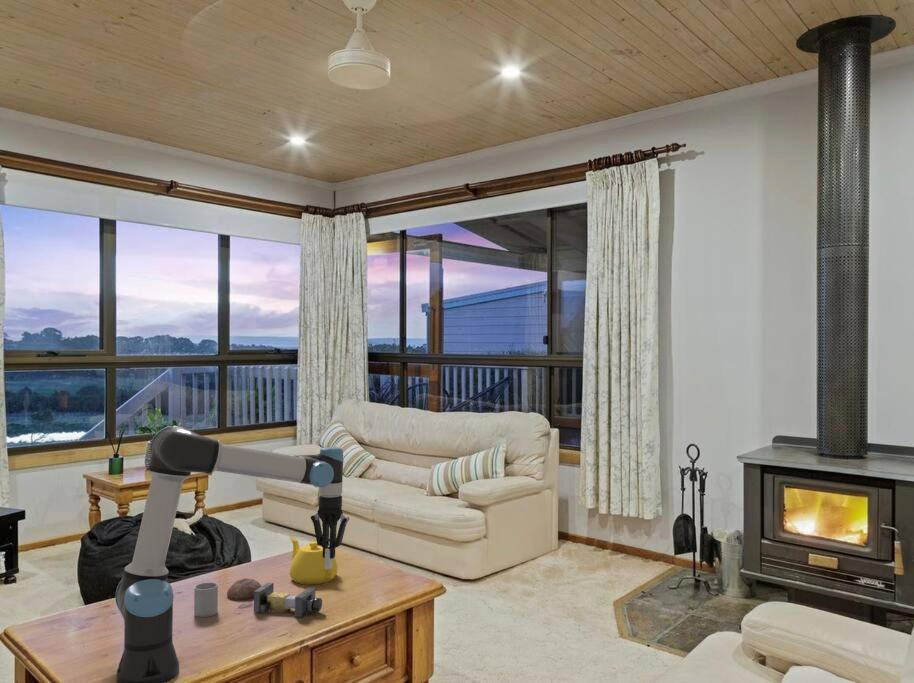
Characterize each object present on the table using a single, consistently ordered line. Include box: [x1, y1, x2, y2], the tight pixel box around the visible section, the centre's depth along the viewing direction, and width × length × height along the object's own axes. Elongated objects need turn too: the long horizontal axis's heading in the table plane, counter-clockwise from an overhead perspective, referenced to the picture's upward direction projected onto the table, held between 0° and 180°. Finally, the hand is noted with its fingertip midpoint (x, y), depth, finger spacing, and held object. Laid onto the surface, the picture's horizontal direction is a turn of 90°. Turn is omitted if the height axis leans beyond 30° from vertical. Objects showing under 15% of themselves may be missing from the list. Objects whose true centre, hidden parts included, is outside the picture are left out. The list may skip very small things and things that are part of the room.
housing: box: [253, 582, 316, 619], centre depth 228 cm, size 18×9×7 cm, turn 75°
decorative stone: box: [226, 578, 263, 601], centre depth 243 cm, size 12×12×6 cm
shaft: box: [284, 594, 323, 612], centre depth 226 cm, size 12×4×4 cm, turn 75°
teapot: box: [289, 537, 339, 586], centre depth 262 cm, size 25×18×14 cm
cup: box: [193, 581, 219, 618], centre depth 226 cm, size 7×10×9 cm
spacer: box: [267, 591, 291, 613], centre depth 229 cm, size 4×6×5 cm, turn 75°
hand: (328, 568), depth 224 cm, fingers closed
